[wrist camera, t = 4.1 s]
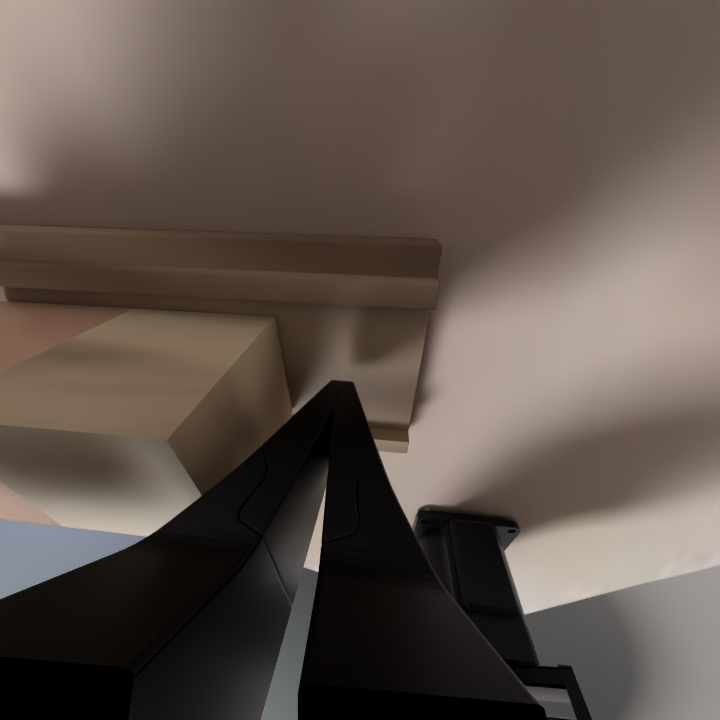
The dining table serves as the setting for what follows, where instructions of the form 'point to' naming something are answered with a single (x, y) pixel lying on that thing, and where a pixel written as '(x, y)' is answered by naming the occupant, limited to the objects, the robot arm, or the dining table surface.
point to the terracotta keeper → (31, 337)
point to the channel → (257, 297)
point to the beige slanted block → (140, 416)
